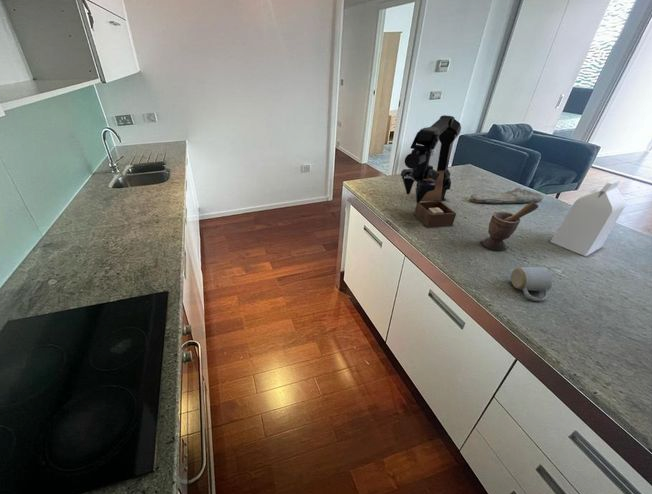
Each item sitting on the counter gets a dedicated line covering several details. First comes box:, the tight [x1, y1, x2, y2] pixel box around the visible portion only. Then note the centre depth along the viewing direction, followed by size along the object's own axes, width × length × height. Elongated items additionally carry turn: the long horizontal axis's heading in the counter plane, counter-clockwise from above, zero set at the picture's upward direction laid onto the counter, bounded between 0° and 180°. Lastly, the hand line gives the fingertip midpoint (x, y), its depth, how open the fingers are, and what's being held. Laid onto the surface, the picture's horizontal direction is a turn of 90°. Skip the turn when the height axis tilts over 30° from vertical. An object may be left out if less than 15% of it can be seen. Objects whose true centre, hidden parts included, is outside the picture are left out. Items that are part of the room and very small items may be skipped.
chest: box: [413, 200, 457, 229], centre depth 133 cm, size 13×11×6 cm
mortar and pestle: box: [482, 202, 539, 252], centre depth 110 cm, size 12×9×20 cm
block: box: [428, 208, 444, 214], centre depth 133 cm, size 5×5×5 cm
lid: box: [420, 170, 444, 202], centre depth 135 cm, size 13×11×1 cm
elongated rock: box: [469, 187, 544, 204], centre depth 149 cm, size 35×5×10 cm
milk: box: [550, 179, 627, 257], centre depth 108 cm, size 12×12×26 cm
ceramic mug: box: [510, 266, 553, 302], centre depth 92 cm, size 11×8×8 cm
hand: (412, 198), depth 127 cm, fingers open, 9 cm apart
